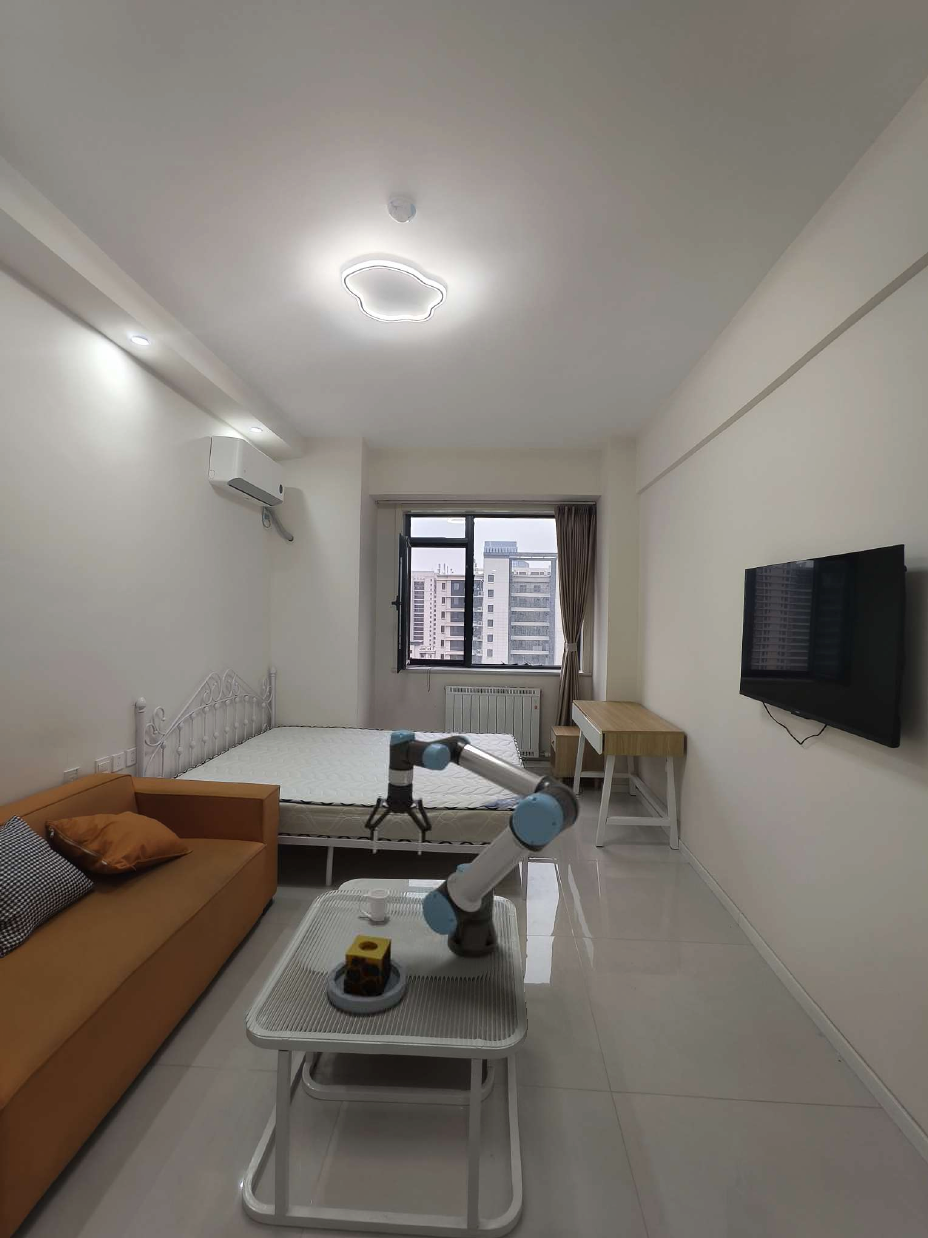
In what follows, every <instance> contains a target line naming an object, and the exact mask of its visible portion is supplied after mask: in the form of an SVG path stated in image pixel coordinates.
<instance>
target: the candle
mask: <svg viewBox="0 0 928 1238" xmlns="http://www.w3.org/2000/svg"><path fill="white" fill-rule="evenodd" d="M391 957H392V939H391V938H384V937H376V936H371V935H361V934H357V936H356V937H355V939H354V941H353V942H352V943H351V945H350V947H349V948H348V949H347V951H346V953H345V961H346V966H345V977H344V982H343V984H344V988H343V990H344V992H345V993H350V994H355V995H361V996H372V997H376V996H380V995H382V993H383V992H384V989H385V987H386V985H387V982H388V979H389V978H390V971H391V959H392V958H391Z"/></svg>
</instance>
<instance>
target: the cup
mask: <svg viewBox="0 0 928 1238" xmlns="http://www.w3.org/2000/svg"><path fill="white" fill-rule="evenodd" d="M390 895H391V894H390V891H389V889H384V888H374V889H372V890H370V891H369V892H368V894H363V895H362V896H361V897H360V899H359V902H358V909H359V911H361V913H362V914H363V915H365V917H368V918H370V919H371V920H372V921H374V922H381V921H384V919H385V918H386V917H385V916H386V914H387V911H388V908H389V907H388V905H389V901H390ZM363 898H368V899H369V907H370V908H369V909H370V913H371V915H370V914H368V913H367V912H366V911H365V910H363V909H362V906H361V901H362V899H363Z"/></svg>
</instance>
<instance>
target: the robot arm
mask: <svg viewBox="0 0 928 1238" xmlns="http://www.w3.org/2000/svg"><path fill="white" fill-rule="evenodd" d="M388 761H389V763H388V777H387V778H388V779H387V780H388V783H387V797H382V796H380V795H378V797H377V798H376V802H375V806H374V808H373V810H372V811H371V813H370V815H369V816H368V818H367V820H366V822H365V824H364V829H368V830H369V831H370V832H369V833H370V835H369V839H370V840H369V841H370V842H373V843H372V845H373V847H372V853H373V854H376V853H377V850H378V826H379V825H380V824H381V823H382V822H383V821H384V820H385V819H386V818H387V817H388V815H390V813H393V814H402V815H404V814H407V815H408V816H409V817H410V818H411V819H412V821H413V823H414V824H415V825H416V826H417V827H418V829H419V832H418V851H417V853H418V856H421V855H422V847H423V846H422V844H425V843H426V838H427V837H426V836H427V835H426V834H427V832H431V831H432V829H433V825H432V822H431V821H430V818H429V816H428V814H427V812H426V809H425V807H424V803H423V798H422V797H419V798H415V799H413V789H414V785H413V784H414V783H413V781H414V766H415V767H418V768H424V769H428V770H429V771H438V772H441V771H443V770H446V767H448V765H449V764H450V763H451V764H455V765H457V766H459V767H461V768H463V769H465V770H467V771H469V772H471V773H473V774H474V775H477V776H478V777H481V778H483V779H485V780H487V781H489V782H491V783H492V784H494V785H496V786H498V787H501V788H502V789H505V790H506V791H508V792H510V793H512V794H514V795H516V796H517V797H520V798H522V799H521V800H520V802H519V803H517V804H516V806H515V809H514V810H513V813H511V815H509V817H508V819H507V823H508V826H507V827H505V829H504V830H503V831H501V833H500V834H499V835H498V836H497V837H496V838H494V840H493V841H492V842H490V844H489V845H487V847H486V848H485V849H483V851H482V852H481V853H479V854H478V856H477V857H475V859H473V860H472V861H471V862H470V863H462V864H459V865H457V867H456V870H455V872H453V873H451V874H450V875H449V876H448V877H447V878H446V879H445V880H444V881H443V882H442V883H441V884H440V885H439V886H438V887H436V888H435V889H433V890H431V891H429V892H428V893H427V894H426V895H425V897H424V898H423V900H422V906H421V909H422V914H423V918H424V920H425V923H426V925H428V927H429V928H430V929H431V930H432V931H433V932H434V933H435V934H439V935H440V936H446V935H447V942H446V943H447V946H448V948H449V950H451V951H452V952H453V953H454V954H455V953H456V954H457V955H459V956H463V957H466V958H467V957H468V958H482V956H483V957H487V956H489V955H491V954H493V953H494V952H495V951H496V950H497V948H498V934H497V931H496V927H495V923H494V919H493V917H494V902H495V901H494V900H495V899H494V898H495V897H494V896H495V886H496V885H497V884H499V882H501V881H502V880H503V879H504V878H505V877H506V876H507V875H508V874H509V873H510V872H511V871H512V870H513V869H514V868H516V866H517V865H519V863H521V861H523V860H524V859H526V857H527V856H528V855H529V854H531V853H533V854H534V853H536V854H537V853H540V852H541V851H542V850H544V848H546V847H547V846H548V845H549V844H550V843H551V842H552V841H554V840H555V839H556V838H557V837H559V835H560V834H561V833H563V832H565V831H566V830H568V829H569V828H571V827H573V825H575V823H577V820H578V818H579V815H580V812H581V811H580V810H581V809H580V802H579V799H578V796H577V794H576V793H575V792H574V791H573V790H572V789H571V788H570V787H569V786H568V785H566V784H564V783H562V782H560V781H558V780H557V779H554V778H552V777H550V776H549V775H542V776H540V775H537V774H535V773H534V772H531V771H529V770H527V769H525V768H522V767H520V766H518V765H517V764H514V763H511V762H510V761H508V760H506V759H503V758H502V757H499V756H497V755H494V754H493V753H491V752H488V751H486V750H484V749H482V748H481V747H479V746H478V747H477V746H475V745H473V744H471V741H470V740H469V738H467V736H465V735H452V736H449V737H445V738H439V739H436V740H432V741H425V740H418V739H416V733H415V732H414V731H412V730H408V729H399V730H394V731H392V732H391V734H390V740H389V759H388ZM384 804H386V805H387V808H386V809H385V810H384V811H383V812H382V813H381V814H380V815H379V816H378V818H376V820H375V821H374V822H373V820H374V818H375V817H376V814H377V812H378V811H379V809H380V807H381V806H383V805H384ZM413 804H415V806H416V807H418V810H419V814H420V816H421V818H422V819H423V822H424V823H423V822H422V820H421V819H420V818H419V816H418V815H417V814H416V813H415V811H414V810H413V808H412V806H413ZM372 822H373V823H372ZM496 947H497V948H496ZM495 949H496V950H495ZM494 950H495V951H494ZM493 951H494V952H493ZM492 952H493V953H492ZM490 953H491V954H490ZM488 954H489V955H488ZM486 955H487V956H486Z"/></svg>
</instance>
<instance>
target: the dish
mask: <svg viewBox="0 0 928 1238" xmlns="http://www.w3.org/2000/svg"><path fill="white" fill-rule="evenodd" d="M345 966H346V960H343V961H341V962H339V963H338V964H337V965H336V966H335V967H334V968H333V969H331V970H330V972H329V976H328V978H327V985H326V986H327V995H328V998H329V1001H330V1002H331V1003H332V1004H333V1005H334V1006H335V1007H336V1008H338V1009H339V1010H342V1011H345V1012H347V1013H351V1014H360V1015H363V1014H364V1015H367V1014H375V1013H379V1012H383V1011H385V1010H387V1009H390V1008H391V1007H393V1006H395V1005H396V1004H397V1003H399V1002H400V1001H401V999H402V998H403V996H404V994H405V992H406V983H407V973H406V970H405V969H404V967H403V965H401V964H400V963H399V962H397V961H396V960H394V959H392V958H391V971H390V978H389V979H388V982H387V985H386V987H385V989H384V992H383V993H382V995H380V996H376V997H372V996H361V995H355V994H350V993H345V992H344V990H343V988H344V984H343V982H344V977H345Z"/></svg>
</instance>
